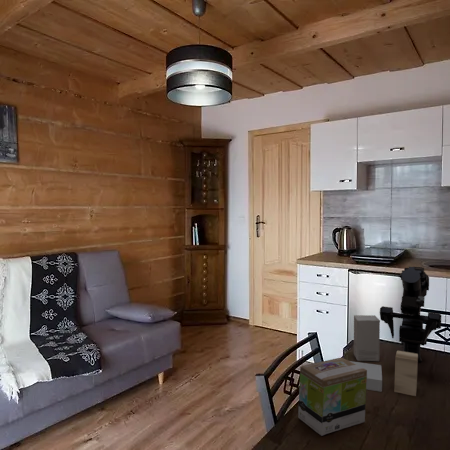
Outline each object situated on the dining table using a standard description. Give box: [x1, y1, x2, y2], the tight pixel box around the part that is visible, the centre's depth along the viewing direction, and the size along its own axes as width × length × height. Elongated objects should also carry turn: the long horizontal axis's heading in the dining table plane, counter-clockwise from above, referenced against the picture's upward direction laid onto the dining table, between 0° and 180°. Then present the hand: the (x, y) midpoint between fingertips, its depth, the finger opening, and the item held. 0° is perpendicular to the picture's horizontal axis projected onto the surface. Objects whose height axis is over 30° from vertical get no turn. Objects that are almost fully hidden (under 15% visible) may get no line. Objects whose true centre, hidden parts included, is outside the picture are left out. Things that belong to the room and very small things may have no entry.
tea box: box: [297, 356, 367, 437], centre depth 107 cm, size 15×10×15 cm
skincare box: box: [353, 314, 381, 362], centre depth 149 cm, size 8×7×16 cm
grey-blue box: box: [349, 360, 383, 393], centre depth 131 cm, size 12×12×4 cm
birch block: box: [393, 350, 419, 397], centre depth 124 cm, size 6×6×11 cm
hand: (407, 340), depth 131 cm, fingers open, 9 cm apart
